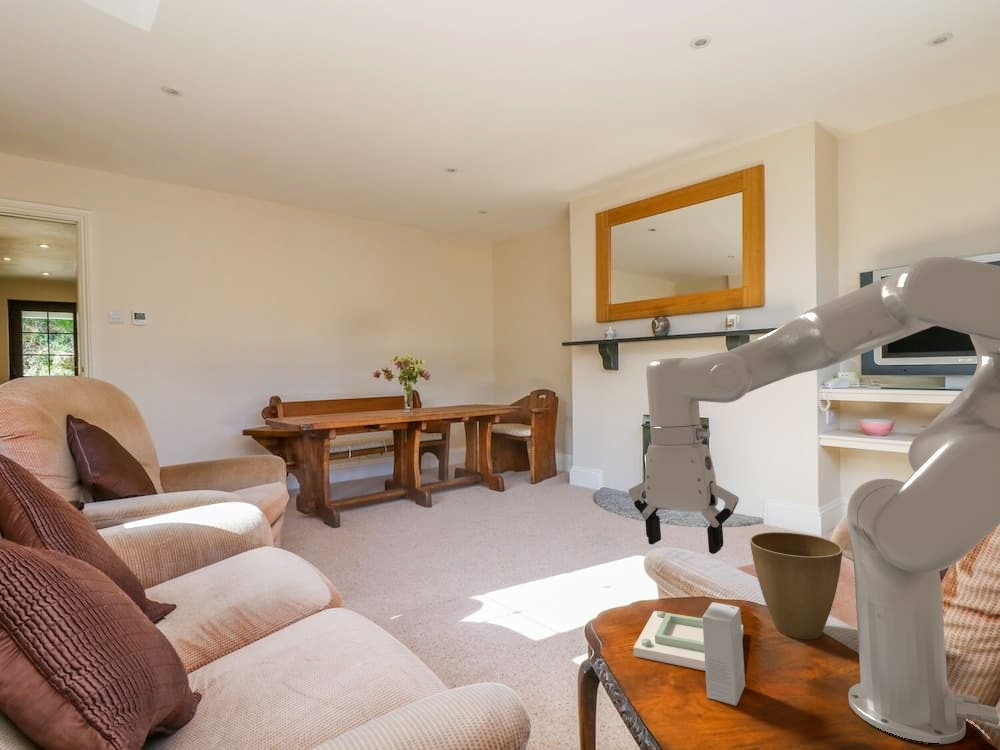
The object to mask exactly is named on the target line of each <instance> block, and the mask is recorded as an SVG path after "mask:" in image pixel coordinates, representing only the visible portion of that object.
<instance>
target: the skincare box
mask: <svg viewBox="0 0 1000 750" xmlns="http://www.w3.org/2000/svg"><path fill="white" fill-rule="evenodd" d="M741 612H742V611H741V608H740V607H739V606H735V605H730V604H725V603H719V602H714V601H713V602H711V603H710V605H709V607H708V608H707V609H706V611H705V612H704V614H703V615H702V617H701V618H702V620H703V637H704V654H705V670H706V671H705V685H706V697H707V698H708V699H711V700H714V701H718V702H722V703H725V704H728V705H731V706H737V705H738V703H739V701H740V699H741V696H742V694H743V692H744V689H745V687H746V681H745V680H746V678H745V676H746V674H745V664H744V663H745V660H744V659H745V658H744V648H743V646H744V645H743V639H742V628H741V625H742V616H741V614H742V613H741Z"/></svg>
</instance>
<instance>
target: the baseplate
mask: <svg viewBox="0 0 1000 750" xmlns="http://www.w3.org/2000/svg"><path fill="white" fill-rule="evenodd" d="M741 628H742V640H743V638H744V624H741ZM632 651H633V657H636V658H641V659H646V660H651V661H655V662H656V661H657V662H660V663H667V664H669V665H675V666H680V667H685V668H690V669H695V670H700V671H705V672H706V670H705V654H704V637H703V620H702V617H695V616H690V615H682V614H675V613H670V612H666V611H662V610H653V612H652V614H651V616H650V618H649V619H648V621H647V623H646V624H645V626H644V628H643V629H642V632H641V633H640V635H639V637H638V638H637V640H636V642H635V644H634V646H633V650H632Z"/></svg>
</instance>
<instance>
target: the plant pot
mask: <svg viewBox="0 0 1000 750" xmlns="http://www.w3.org/2000/svg"><path fill="white" fill-rule="evenodd" d="M749 544H750V550H751V555H752V556H751V557H752V560H753V563H754V568H755V573H756V576H757V581H758V583H759V586H760V587H759V588H760V591H761V594H762V596H763V599H764V602H765V605H766V608H767V610H768V612H769V615H770V617H771V620H772V623H773V624H774V627H775V628H776V629H777V631H778V632H780V633H781V634H783V635H785V636H787V637H790V636H791V637H790V638H795V639H800V640H815V639H818V638H820V637H821V636H822V634H823V632H824V629H825V626H826V624H827V622H828V619H829V616H830V614H831V611H832V607H833V604H834V600H835V596H836V593H837V589H838V584H839V579H840V573H841V565H842V559H843V547H842V546H841V545H840V544H839V543H837V542H835V541H833V540H830V539H828V538H824V537H820V536H815V535H811V534H804V533H797V532H786V531H785V532H783V531H782V532H781V531H780V532H779V531H771V532H760V533H757V534H754V535H752V536H751V537H750V538H749Z"/></svg>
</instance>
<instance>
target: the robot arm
mask: <svg viewBox="0 0 1000 750" xmlns="http://www.w3.org/2000/svg"><path fill="white" fill-rule="evenodd" d="M932 327H940V328H944V329H947V330H952V331H956V332H959V333H962V334H966V335H969V338H970V340H971V343H972V345H973V347H974V350H975V354H976V359H977V360H976V369H975V371H974V373H973V376H972V377H971V379H970V381H969V382H968V383H967V384H966V385H965V386H964V388H962V390H961V391H960V392H959V394H958V395H957V396H956V397H955V398H954V399H953V400H952V401H951V402H950V403H949V404H948V405H947V406H946V407H945V408H944V409H943V410H942V411H940V413H939V414H938V415H937V416H936V417H935V418H934V419H933V420H932V421H931V422H930V423H929V424H928V425H927V426H926V427H925V428H924V429H923V430H921V431H920V433H919V434H918V435H916V437H915V438H914V439H913V441H912V442H911V444H910V446H909V448H908V461H909V464H910V466H911V468H912V470H913V471H914V472H913V474H912V475H910V476H909V477H908V479H906V480H905V481H901V480H899V479H898V480H897V479H893V478H875V479H872V480H869V481H866V482H865V483H864V482H863V484H861V485H860V486H858V487H857V488H856V489H855V490H854V492H853V493H852V494H851V496H850V498H849V501H848V505H847V511H846V512H847V513H846V514H847V515H846V517H847V525H848V526H847V527H848V533H849V538H850V539H849V541H850V547H851V554H852V561H853V573H854V574H853V575H854V587H855V588H854V589H855V607H856V623H857V640H858V641H857V643H858V656H859V658H858V659H859V676H860V682H859V683H856V684H854V685H852V686H851V687H850V688H849V690H848V693H847V694H848V703H849V706H850V708H851V709H852V710H853V711H854V712H855V713H856V715H858V716H859V717H860V718H861V719H862V720H863V721H865V722H867V724H870V726H873V727H874V728H877V729H878V728H879V730H880V729H881V730H880V731H883V732H885V731H886V733H887V732H888V733H887V734H889V733H892V734H894V735H893V736H895V735H897V736H896V737H898V736H900V737H899V738H901V737H903V738H902V739H904V738H908V739H912V740H917V741H923V742H931V743H939V744H938V745H949V744H953V743H956V742H958V741H960V740H962V739H963V738H964V737H965V735H966V733H967V726H966V721H967V719H972V720H976V721H979V722H982V723H983V722H984V723H988V724H992V725H997V726H998V725H999V724H1000V720H999V719H1000V717H999V713H998V710H997V708H996V707H995V706H992V705H991V706H990V705H985V704H981V703H980V702H979V699H978V697H977V696H973V695H969V694H961V693H960V694H959V693H955V691H954V690H952V689H951V688H950V686H949V684H948V673H947V656H946V642H945V641H946V639H945V627H944V609H943V608H944V604H943V603H944V601H943V592H942V591H943V589H942V580H941V574H940V571H943V570H946V569H948V568H949V567H953V566H954V565H955V564H957V563H958V562H959V561H961V560H962V559H963V558H964V557H966V556H967V555H968V554H969V553H970V552H972V551H973V550H974V549H975V548H976V547H977V546H978V545H979V544H980V543H981V542H983V541H984V540H985V539H986V538H987V537H988V536H989V535H990V534H991V533H992V532H994V530H996V529H997V527H999V526H1000V265H998V264H997V265H995V264H991V263H986V262H981V261H975V260H970V259H964V258H958V257H957V258H956V257H950V256H949V257H947V256H931V257H925V258H922V259H920V260H916V261H914V262H913V263H911V264H909V265H908V266H906V267H904V268H902V269H900V270H899V271H898V270H897V271H896V272H893V273H892V274H890V275H887V276H886V277H883V278H881V279H878V280H876V281H874V282H872V283H870V284H867V285H865V286H862V287H861V288H858V289H855V290H853V291H851V292H849V293H846V294H844V295H842V296H839V297H837V298H835V299H832V300H830V301H827V302H825V303H823V304H820V305H817V306H815V307H813V308H811V309H808V310H806V311H805V312H803V313H801V314H799V315H797V316H796V317H793V318H791V320H789V321H788V322H786V323H784V324H783V325H781V326H779V327H778V328H776V329H774V330H772V331H771V332H768V333H766V334H764V335H762V336H760V337H758V338H755V339H753V340H751V341H748V342H746V343H744V344H741V345H739V346H737V347H735V348H732V349H730V350H728V351H726V352H717V353H712V354H707V355H702V356H698V357H691V358H688V357H672V358H671V357H670V358H661V359H654V360H652V361H650V362H649V363H648V364H647V366H646V368H645V369H646V370H645V372H646V385H647V387H646V388H647V399H648V402H647V403H648V414H649V426H650V427H649V428H650V440H651V441H650V442H651V445H648V446H647V451H646V459H645V474H644V475H645V476H644V477H645V479H644V481H643V482H640V483H639V484H637V485H635V486H633V487H631V488H629V489H628V491H627V492H628V494H629V496H630V498H631V500H632V501H633V505H634V507H635V508H636V509H637V511H638V512H639V513H640V514H641V517H642V519H644V520H645V534H646V537H647V541H648V544H649V545H652V546H653V545H654V544H656V543H658V542H660V541H661V539H662V531H661V518H660V516H659V515H658V514H657V513H658V512H659V510H666V511H675V512H686V513H695V514H696V513H698V514H699V513H700V514H701V515H702V516H703V517H704V518H705V519H706V521H707V522H708V523H709V526H708V527H707V528H706V530H707V543H708V545H707V546H708V553H710V554H712V555H715V554H717V553H718V552H720V550H722V548H723V546H724V532H723V531H724V530H723V524H724V523H725V522H726V521H727V520H728V519H729V518H730V517H731V516H732V515H733V514H734V512H735V509H736V507H737V506H738V503H739V501H740V499H739V497H738V496H737V495H736V494H734V493H732V492H730V491H729V490H727V489H725V488H723V487H722V486H720V485H717V479H716V474H715V468H714V465H713V459H712V456H711V452H710V448H709V445H707V444H702V442H703V441H704V440H705V439H710V438H711V431H710V429H705V428H703V426H702V424H701V416H700V414H701V413H700V404H699V402H707V403H709V402H710V403H718V404H720V403H722V404H726V403H727V404H729V403H733V402H736V401H738V400H740V399H742V398H743V397H744V396H745V395H746V394H747V393H750V392H753V391H755V390H758V389H760V388H763V387H765V386H768V385H770V384H773V383H776V382H779V381H781V380H783V379H787V378H790V377H793V376H796V375H799V374H800V375H801V374H803V373H808V372H813V371H818V370H822V369H825V368H828V367H831V366H835V365H837V364H839V363H843V362H846V361H847V360H850V359H852V358H855V357H857V356H860V355H862V354H864V353H868V352H870V351H873V350H875V349H878V348H881V347H883V346H885V345H888V344H890V343H893V342H896V341H898V340H901V339H904V338H906V337H909V336H912V335H914V334H916V333H919V332H922V331H925V330H927V329H930V328H932ZM644 491H645V497H646V500H645V499H644V498H643V496H642V492H644ZM719 499H720V500H722V501H724V506H723V508H722V510H720V511H719V509H718V508H717V507H716V506H718V504H719ZM892 734H891V735H892ZM908 739H907V740H908Z"/></svg>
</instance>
